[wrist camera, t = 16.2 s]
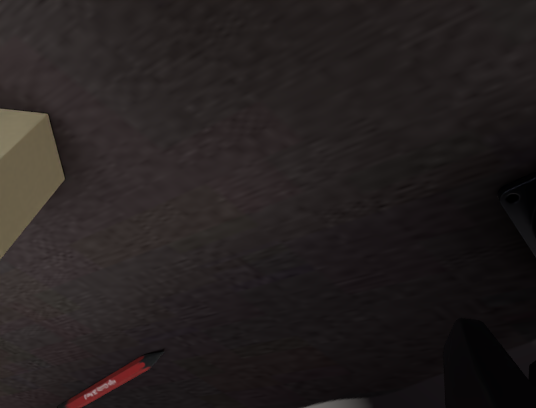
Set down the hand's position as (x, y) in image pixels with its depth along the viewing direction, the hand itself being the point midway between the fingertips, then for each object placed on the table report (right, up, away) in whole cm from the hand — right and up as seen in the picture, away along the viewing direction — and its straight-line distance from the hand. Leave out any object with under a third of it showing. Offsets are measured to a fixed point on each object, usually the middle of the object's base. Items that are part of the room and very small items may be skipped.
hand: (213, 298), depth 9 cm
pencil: (-10, -11, +26) cm, 30 cm away
